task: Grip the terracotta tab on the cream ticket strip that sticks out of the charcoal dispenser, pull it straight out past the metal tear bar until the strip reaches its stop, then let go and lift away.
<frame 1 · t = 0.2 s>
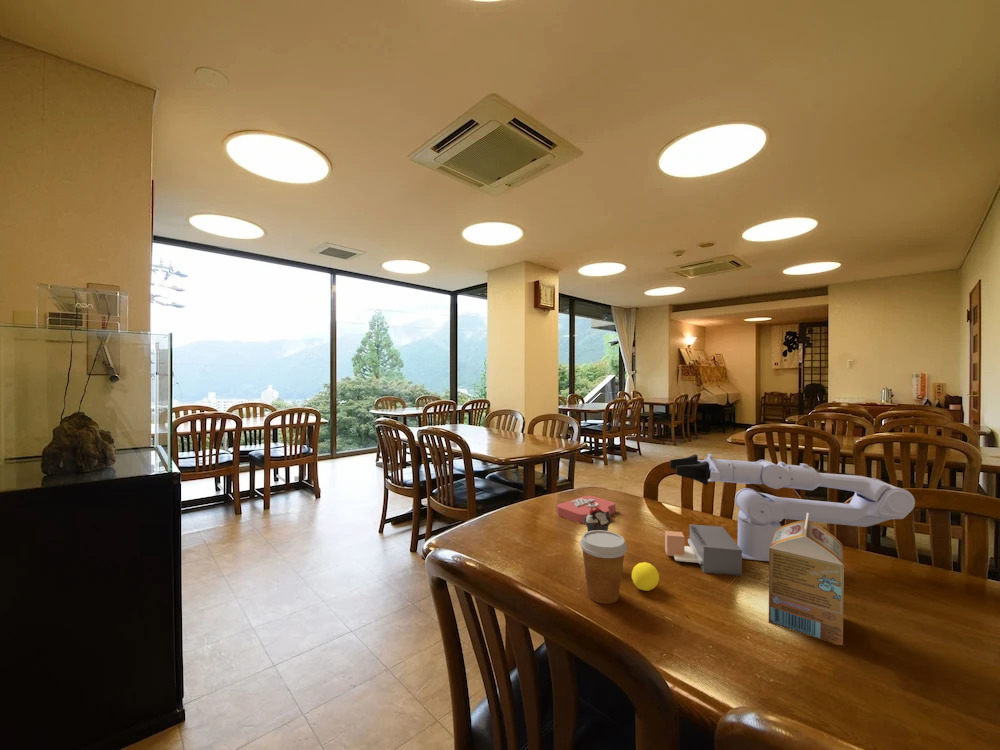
hand: (673, 467, 107), 21 cm above the table, tool horizontal, fingers open, 7 cm apart
ticket: (695, 545, 101), point 3 cm above the table, slide at 0.0 cm
plaque: (589, 516, 132), on the table
disposable coffee cup: (602, 596, 84), on the table
sundae: (597, 562, 99), on the table
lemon: (645, 589, 87), on the table
dispenser: (713, 560, 100), on the table
milk carton: (805, 621, 76), on the table
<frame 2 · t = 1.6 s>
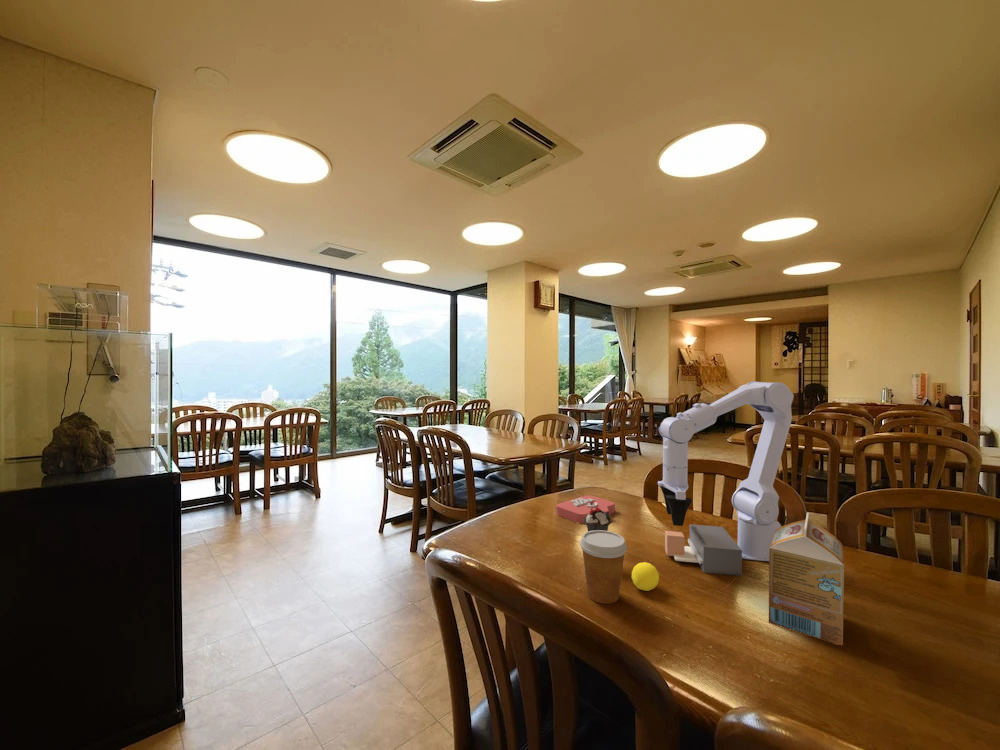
hand: (674, 519, 102), 9 cm above the table, tool pointing down, fingers open, 7 cm apart
nothing on the table moved.
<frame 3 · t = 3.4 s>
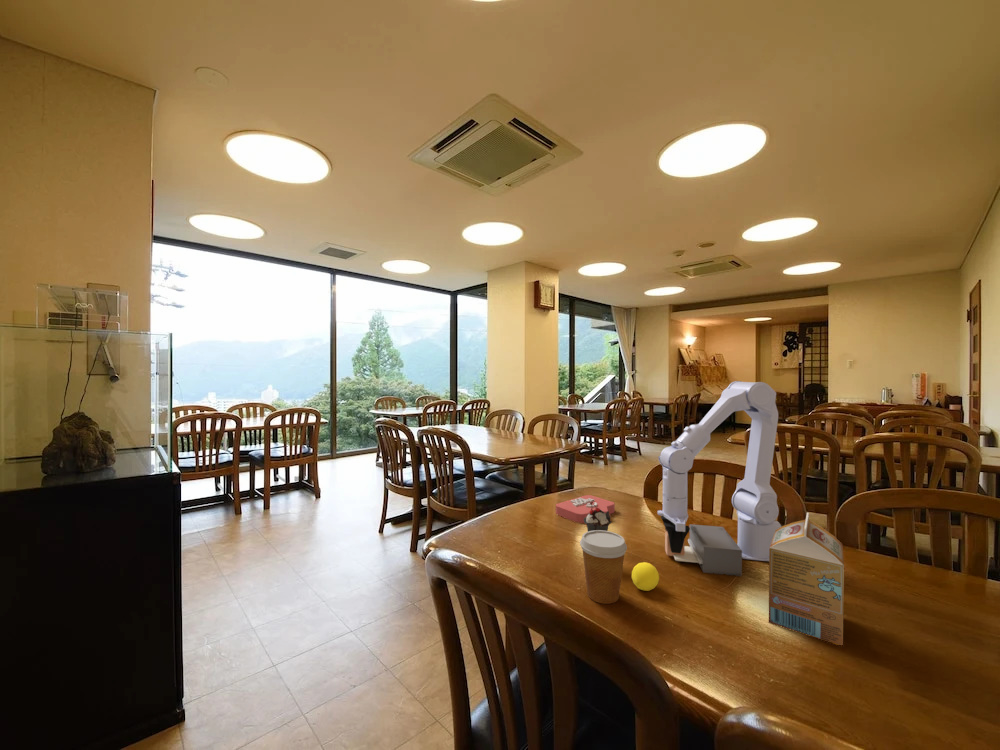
hand: (674, 549, 102), 2 cm above the table, tool pointing down, fingers closed on ticket, 3 cm apart
ticket: (695, 545, 101), point 3 cm above the table, slide at 0.0 cm, touching gripper
everything else where it was.
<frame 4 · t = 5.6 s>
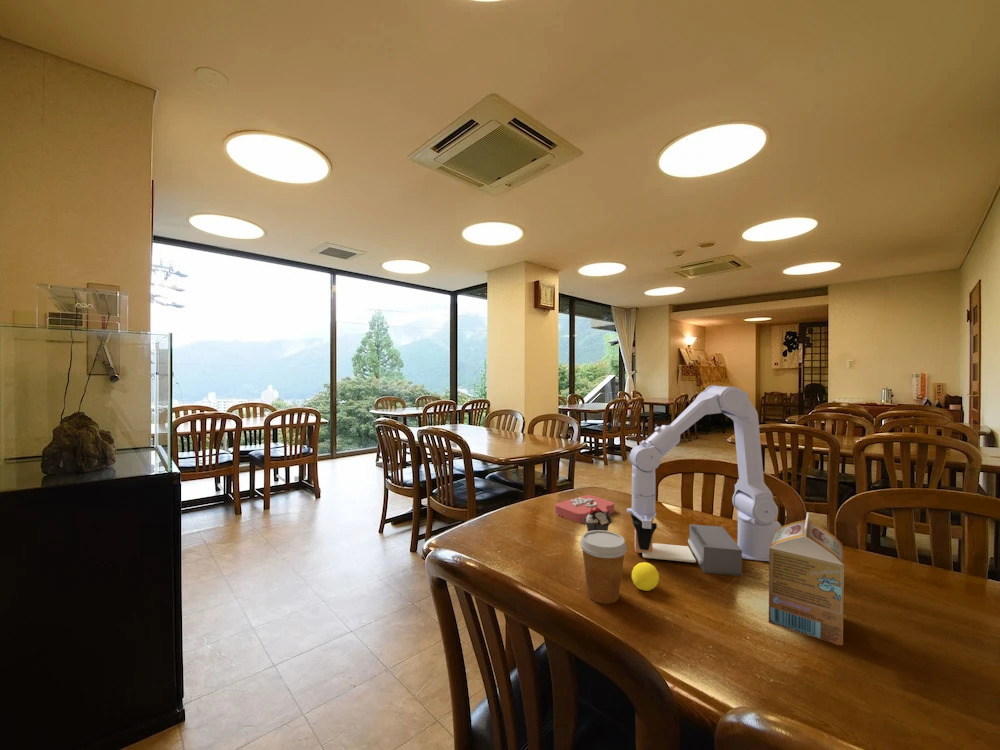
hand: (643, 546, 104), 2 cm above the table, tool pointing down, fingers closed on ticket, 3 cm apart
ticket: (663, 542, 102), point 3 cm above the table, slide at 7.5 cm, touching gripper
everything else where it was.
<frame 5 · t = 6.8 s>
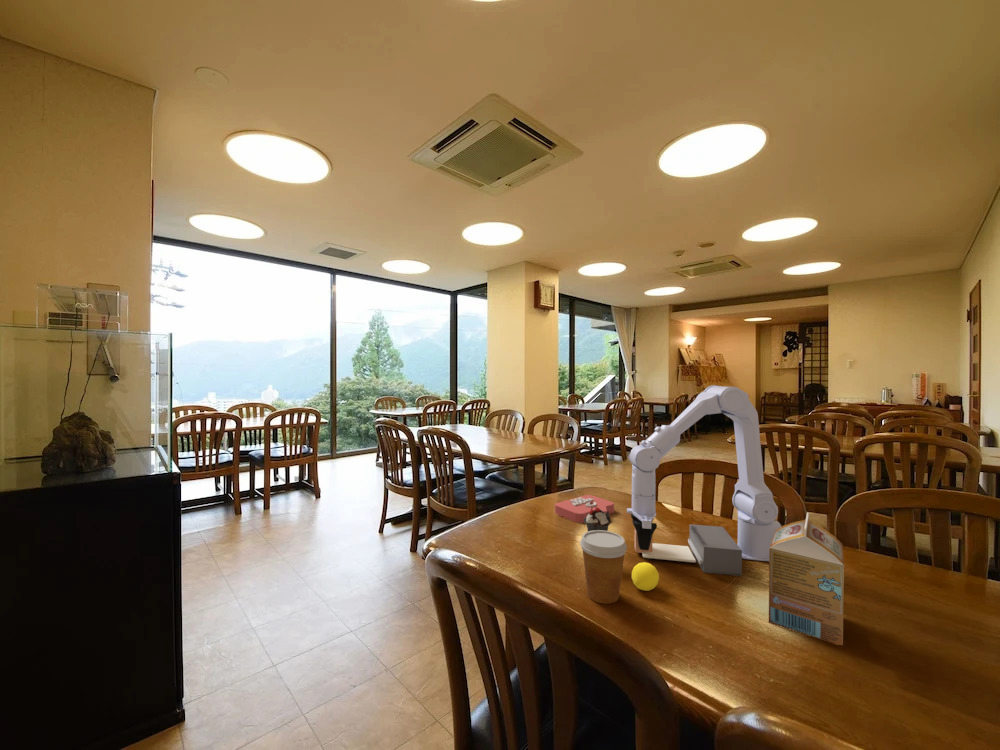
hand: (643, 546, 104), 2 cm above the table, tool pointing down, fingers open, 3 cm apart
ticket: (663, 542, 102), point 3 cm above the table, slide at 7.5 cm
everything else where it was.
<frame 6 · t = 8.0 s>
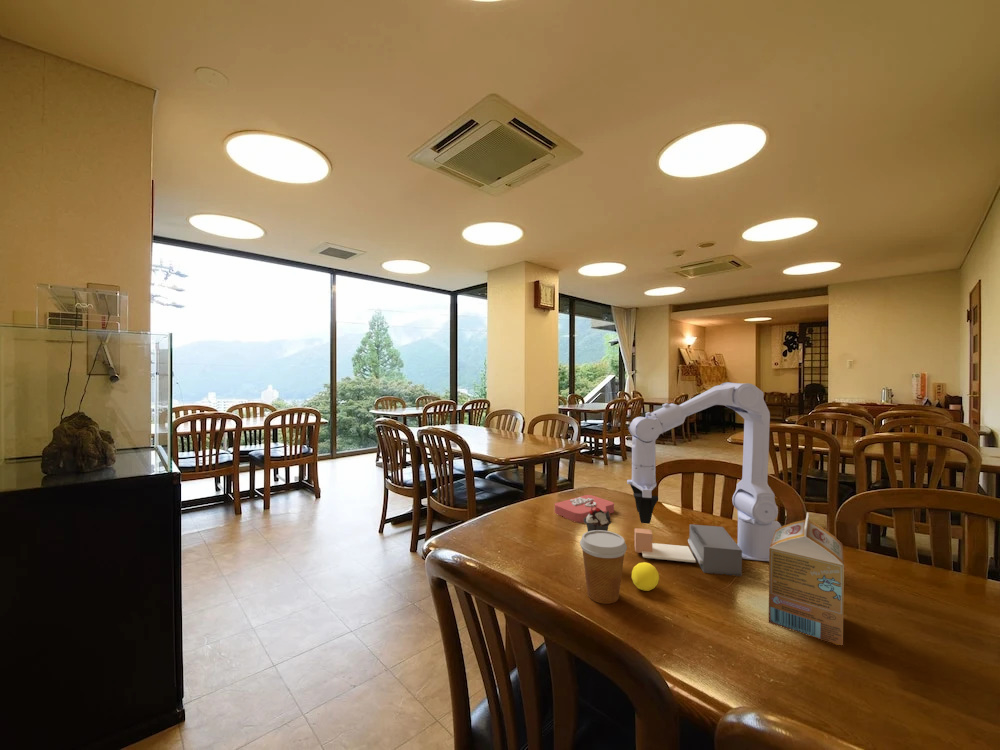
hand: (643, 517, 103), 9 cm above the table, tool pointing down, fingers open, 7 cm apart
nothing on the table moved.
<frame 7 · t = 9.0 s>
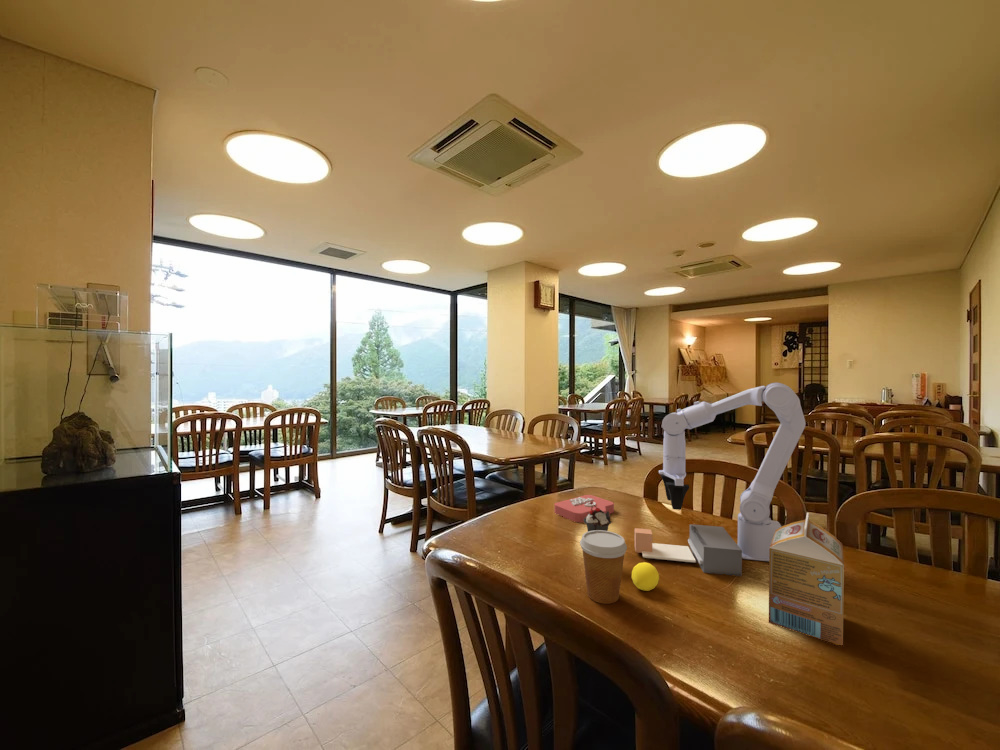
hand: (673, 504, 113), 9 cm above the table, tool pointing down, fingers open, 7 cm apart
nothing on the table moved.
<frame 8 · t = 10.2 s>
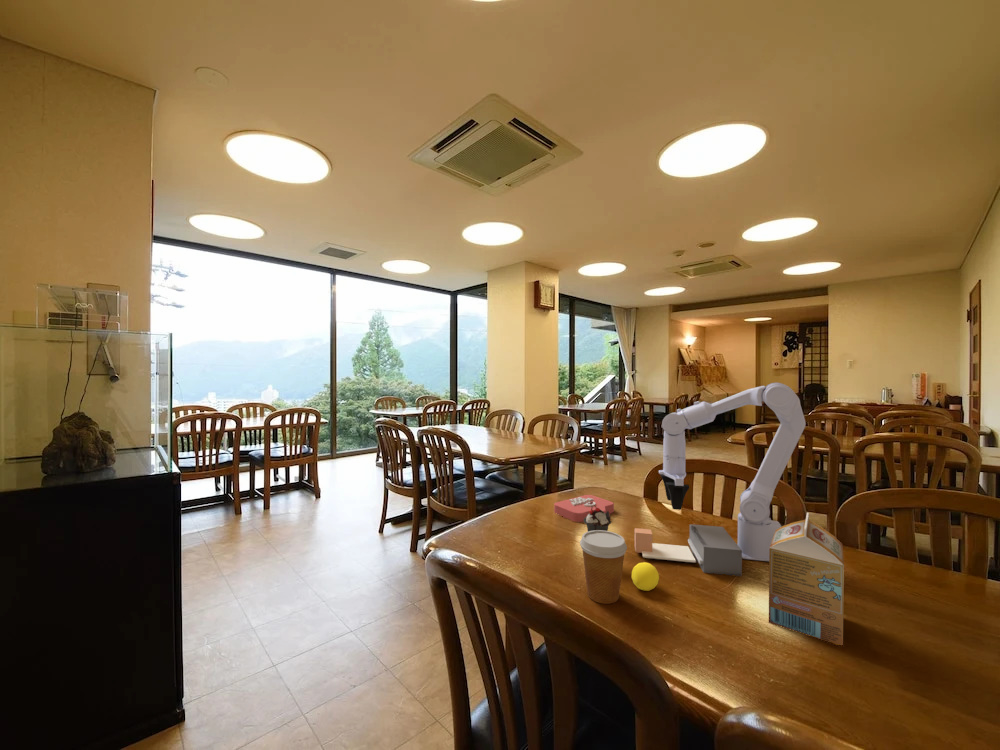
hand: (673, 504, 113), 9 cm above the table, tool pointing down, fingers open, 7 cm apart
at the end: ticket slide at 7.5 cm; the gripper is holding nothing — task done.
